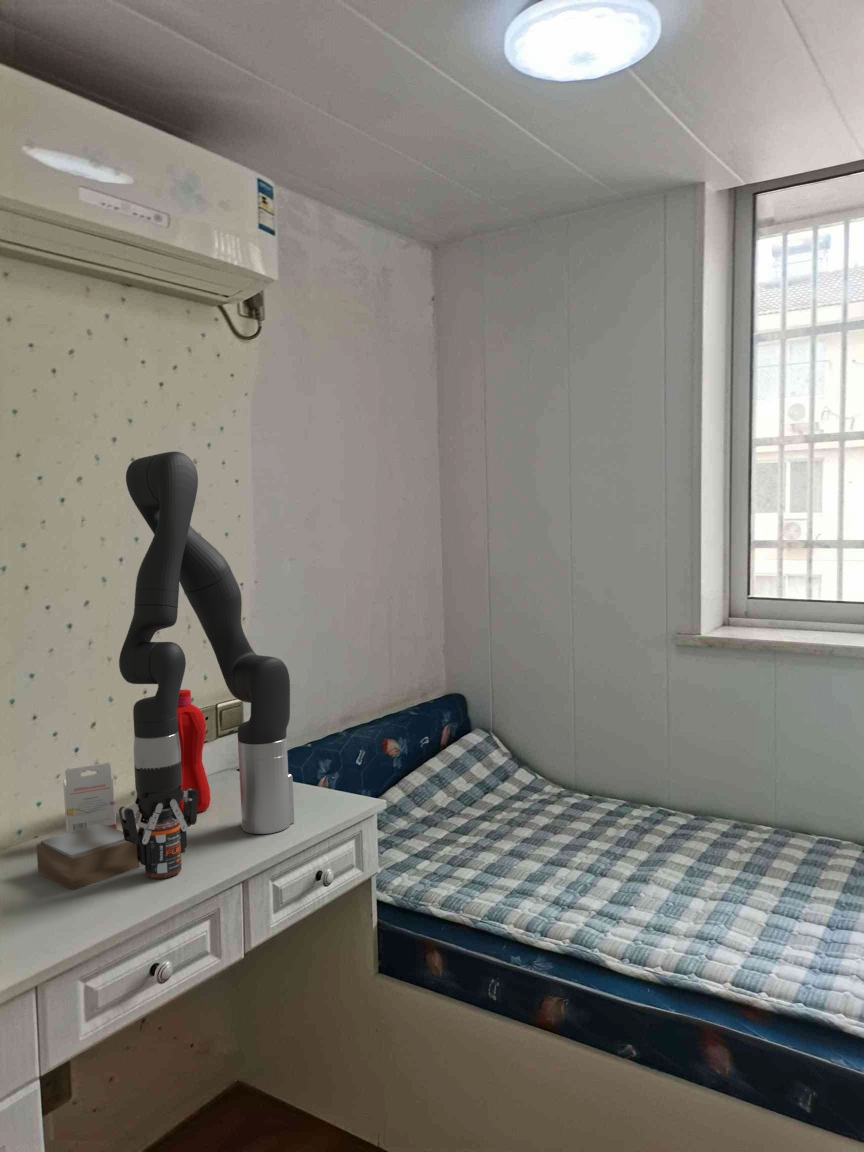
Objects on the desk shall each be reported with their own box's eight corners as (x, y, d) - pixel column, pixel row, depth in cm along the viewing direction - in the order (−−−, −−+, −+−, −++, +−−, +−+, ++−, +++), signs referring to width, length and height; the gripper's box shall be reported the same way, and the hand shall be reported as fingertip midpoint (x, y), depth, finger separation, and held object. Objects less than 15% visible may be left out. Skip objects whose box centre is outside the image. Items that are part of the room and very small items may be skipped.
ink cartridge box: (113, 831, 171) (109, 756, 170) (117, 839, 166) (113, 762, 165) (66, 839, 167) (61, 763, 166) (68, 848, 162) (64, 769, 161)
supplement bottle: (171, 881, 145) (167, 813, 144) (138, 879, 146) (134, 812, 146) (188, 867, 151) (185, 802, 150) (156, 865, 152) (153, 801, 152)
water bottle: (199, 797, 190) (193, 683, 189) (214, 811, 181) (208, 690, 179) (155, 806, 185) (149, 688, 184) (169, 820, 176) (162, 696, 174)
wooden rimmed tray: (103, 851, 160) (102, 821, 159) (139, 866, 152) (137, 835, 152) (38, 872, 151) (36, 841, 150) (72, 890, 143) (70, 857, 142)
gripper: (182, 747, 155) (186, 841, 156) (106, 766, 145) (111, 866, 146) (207, 754, 151) (211, 850, 152) (130, 773, 140) (136, 877, 141)
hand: (162, 857), depth 149 cm, fingers closed on supplement bottle, 6 cm apart
